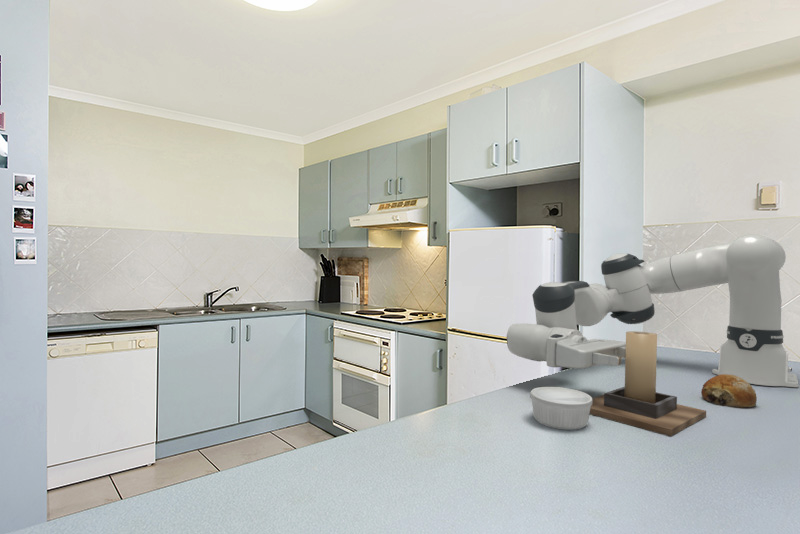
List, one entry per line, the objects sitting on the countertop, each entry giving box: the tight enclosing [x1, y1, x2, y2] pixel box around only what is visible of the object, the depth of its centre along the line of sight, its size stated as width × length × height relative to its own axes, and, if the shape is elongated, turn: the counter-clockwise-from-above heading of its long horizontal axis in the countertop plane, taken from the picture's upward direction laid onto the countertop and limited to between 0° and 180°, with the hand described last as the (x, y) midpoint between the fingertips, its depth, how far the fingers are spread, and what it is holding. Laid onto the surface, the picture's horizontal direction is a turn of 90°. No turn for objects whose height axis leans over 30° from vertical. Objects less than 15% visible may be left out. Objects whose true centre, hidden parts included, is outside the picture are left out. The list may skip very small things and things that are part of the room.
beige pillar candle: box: [624, 330, 658, 404], centre depth 93 cm, size 6×6×15 cm
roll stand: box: [589, 386, 707, 437], centre depth 93 cm, size 18×18×4 cm
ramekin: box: [529, 386, 593, 431], centre depth 87 cm, size 11×11×5 cm
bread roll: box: [701, 374, 757, 409], centre depth 103 cm, size 10×10×8 cm
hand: (630, 358), depth 94 cm, fingers open, 8 cm apart
